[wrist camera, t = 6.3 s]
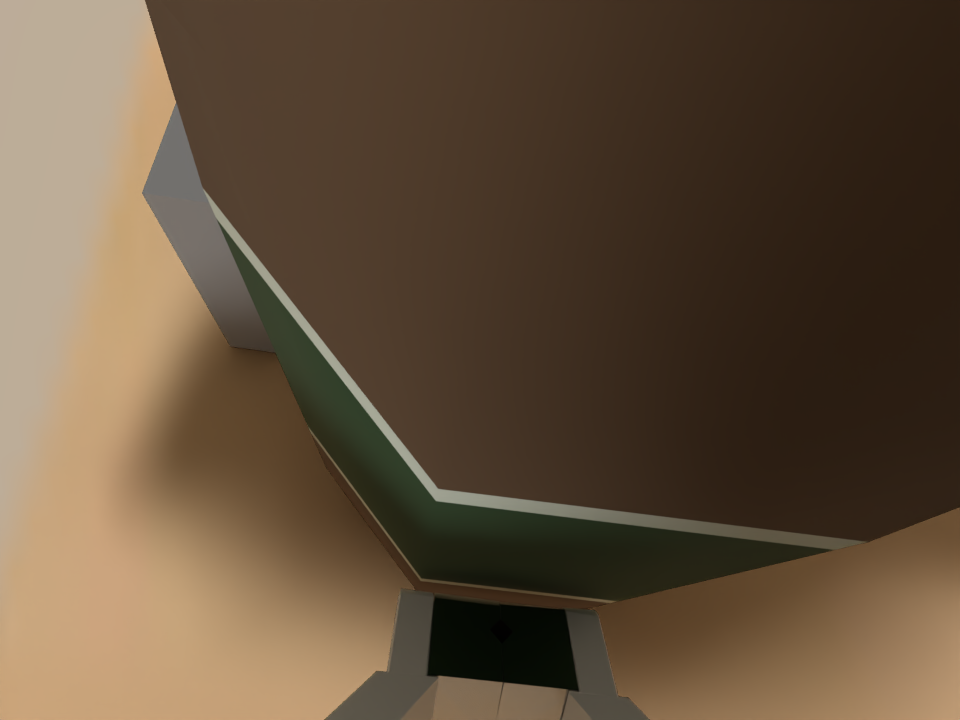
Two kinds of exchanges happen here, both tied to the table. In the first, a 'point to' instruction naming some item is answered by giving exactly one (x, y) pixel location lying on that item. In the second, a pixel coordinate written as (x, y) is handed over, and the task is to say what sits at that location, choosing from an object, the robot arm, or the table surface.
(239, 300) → the bottle stall
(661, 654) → the table surface
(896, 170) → the beer bottle
